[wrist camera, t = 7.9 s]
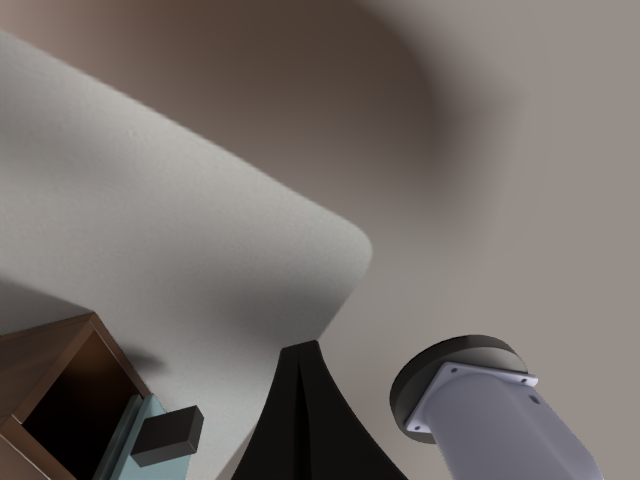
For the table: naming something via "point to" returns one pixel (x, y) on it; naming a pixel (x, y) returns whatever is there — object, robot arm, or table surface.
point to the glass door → (159, 443)
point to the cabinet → (65, 401)
